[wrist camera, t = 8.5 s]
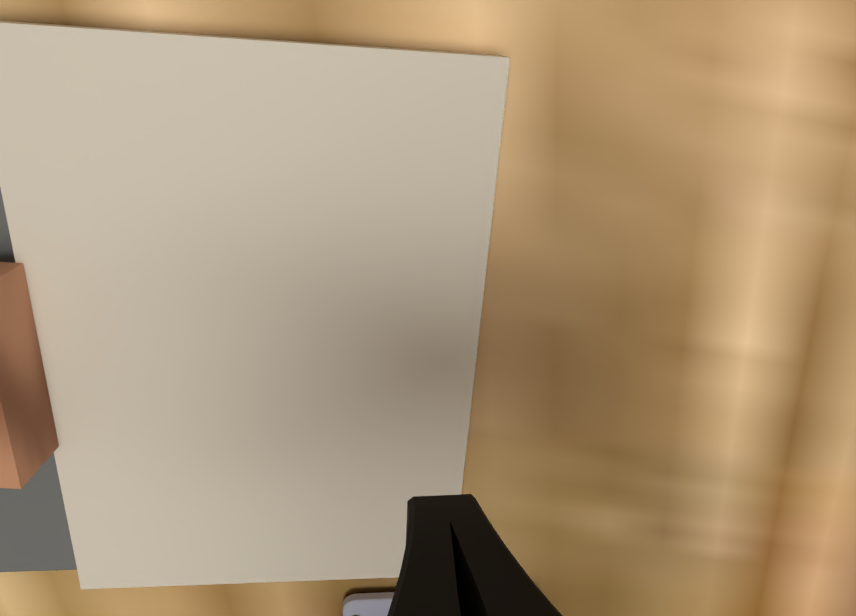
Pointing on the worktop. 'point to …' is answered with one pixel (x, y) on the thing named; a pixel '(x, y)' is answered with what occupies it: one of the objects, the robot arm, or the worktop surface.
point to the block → (21, 385)
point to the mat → (33, 500)
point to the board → (249, 290)
